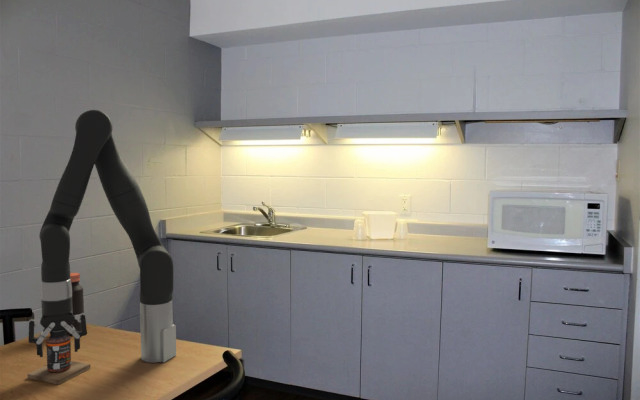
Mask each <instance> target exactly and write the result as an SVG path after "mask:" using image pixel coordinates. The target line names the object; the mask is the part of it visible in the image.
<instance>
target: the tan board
mask: <svg viewBox="0 0 640 400" xmlns="http://www.w3.org/2000/svg"><path fill="white" fill-rule="evenodd" d="M90 369H91V364H90V363H85V362H79V361H74V360H71V367H70V368H69V369H68V370H66V371H63V372H58V373H54V372H49V371H48V370H47V364H46V365H44V366H42V367H39V368H37V369H35V370H33V371H30V372H28V373H27V379H28V380H34V381H38V382H39V381H40V382H45V383H50V384H55V385H61V384H63V383H65V382H67V381H69V380H71V379H73V378H75V377H77V376H79V375H80V374H83V373H85V372H87V371H89V370H90Z"/></svg>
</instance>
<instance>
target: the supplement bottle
mask: <svg viewBox="0 0 640 400" xmlns="http://www.w3.org/2000/svg"><path fill="white" fill-rule="evenodd" d="M70 336H71V335H67V334H66V331H65V330H58V331H52V332H51V333H49V337H47V338H46V342H45V343H46V365H47V370H48V371H49V372H54V373H58V372H63V371H66V370H68V369H69V368H70V367H71V361H72V347H71V345H72V343H71V337H70Z"/></svg>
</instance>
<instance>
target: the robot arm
mask: <svg viewBox="0 0 640 400" xmlns="http://www.w3.org/2000/svg"><path fill="white" fill-rule="evenodd" d="M75 132H76V133H75V136H74V137H75V139H74V143H73V147H72V151H71V154H70V157H69V159H68V162H67V165H66V167H65V169H64V170H63V173H62V175H61V178H60V179H59V182H58V185H57V187H56V189H55V193H54V194H53V197H52V201H51V204H50V208H49V210H48V212H47V215H46V216H45V219H44V221H43V223H42V226H41V228H40V231H39V234H38V235H39V240H40V248H41V250H40V251H41V259H42V261H41V265H40V267H41V269H40V274H41V285H40V286H41V287H40V298H41V300H40V301H41V303H40V304H41V318H40V319H39V318H38V319H34V318H30V319H28V320H29V321H28V343H29V344H35V345H36V355H37V356H39V358H43V357H44V351H43V350H44V349H43V341H44V340H45V338H46V339H47V336H48V335H50V333H51V332H52V331H58V330H65V331H68V332H69V333H70V334H72V335H71V336H73V343H74V344H73V345H74V352H75V353H78V350H80V348H81V338H82V337H83V336H84V337H85V336H87V334H88V330H87V321H86V320H87V319H86V314H85V312H84V313H81V314H78V315H74V314H73V307H72V285H71V279H70V273H71V264H70V254H71V252H70V251H71V237H70V230H71V227H72V224H73V222H74V219H75V217H76V216H77V215H78V213H79V210H80V209H81V206H82V203H83V200H84V197H85V194H86V191H87V188H88V186H89V185H88V184H89V182H90V179H91V175H92V171H93V168H94V166H95V169H96V171H97V176H98V178H99V181H100V183H101V186H102V190H103V191H104V193H105V197H106V198H107V201H108V203H109V205H110V207H111V210H112V212H113V213H114V216H115V217H116V219H117V220H118V223H119V224H120V225H121V226H122V229H123V230H124V231H125V232H126V235H127V236H128V238H129V240H130V243H131V245H132V248H133V251H134V253H135V256H136V260H137V264H138V267H139V280H140V282H139V283H140V284H139V285H140V286H139V287H140V289H139V316H140V317H139V320H140V321H139V322H140V327H139V328H140V358H141V361H142V362H145V363H153V364H154V363H166V362H168V361H169V360H170V359H172V358H174V357H175V356H177V328H176V327H177V325H176V324H174V320H173V319H174V318H173V317H174V315H173V313H174V311H173V293H174V260H173V258H172V255H171V254H170V253H169V252H168V251H167V249H166V247H165V246H164V245H163V243H162V242H161V240H160V238H159V236H158V234H157V233H156V231H155V229H154V226H153V223H152V220H151V215H150V212H149V208H148V205H147V202H146V200H145V196H144V195H143V193H142V190H141V188H140V186H139V183H138V182H137V180H136V178H135V176H134V175H133V172H131V169H130V168H129V167H128V165H127V164H126V163H125V161H124V160H123V158H122V156H121V154H120V152H119V150H118V147H117V144H116V142H115V139H114V137H113V122H112V120H111V118H110V117H109V115H108V114H107V113H105V112H104V111H102V110H99V109H88V110H86V111H83V112H82V113H81V114H80V115H79V116H78V117H77V119H76V121H75ZM75 319H77V320H78V322H81V328H82V330H81V331H79V332H78V331H77V330H76V329H75V328H74V327H73V326H72V325H71V324H72V323H73V322H74V320H75ZM39 325H41V326H42V328H43V329H42V331H41V333H39V335H38V336H35V329H37V328H38V326H39Z"/></svg>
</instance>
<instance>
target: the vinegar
mask: <svg viewBox="0 0 640 400" xmlns="http://www.w3.org/2000/svg"><path fill="white" fill-rule="evenodd" d="M80 275H81V274H80V273H79V272H70V279H71V285H72V307H73V314H74V315H78V314H81V313H84V314H85V305H84V303H85V302H84V301H85V300H84V288H83V286H82V285H81V284H80V282H81V281H80V280H81V278H80V277H81V276H80ZM71 325H72V326H73V327H74V328H75V329H76V330H77V331H78V332H79V331H81V330H82V328H81V322H78V320H77V319H75V320H74V322H73V323H72V324H71ZM66 334H67V335H69V336H73V335H72V334H70V333H69V332H68V331H66Z"/></svg>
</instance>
